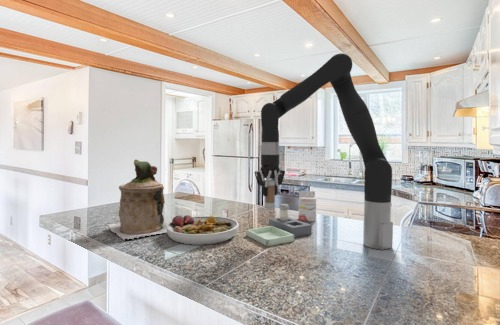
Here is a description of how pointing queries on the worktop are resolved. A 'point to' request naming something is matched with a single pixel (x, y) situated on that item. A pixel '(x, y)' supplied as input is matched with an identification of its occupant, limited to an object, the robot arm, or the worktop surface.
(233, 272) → the worktop surface
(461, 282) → the worktop surface
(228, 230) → the bowl
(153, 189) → the cookie jar
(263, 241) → the parts tray
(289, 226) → the block
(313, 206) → the ink cartridge box
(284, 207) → the fuse
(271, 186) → the cylinder
